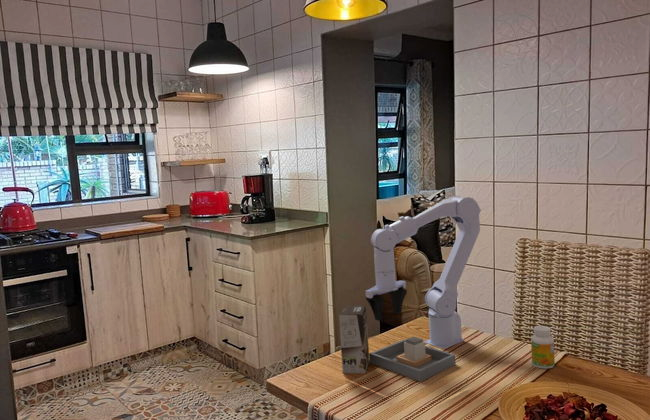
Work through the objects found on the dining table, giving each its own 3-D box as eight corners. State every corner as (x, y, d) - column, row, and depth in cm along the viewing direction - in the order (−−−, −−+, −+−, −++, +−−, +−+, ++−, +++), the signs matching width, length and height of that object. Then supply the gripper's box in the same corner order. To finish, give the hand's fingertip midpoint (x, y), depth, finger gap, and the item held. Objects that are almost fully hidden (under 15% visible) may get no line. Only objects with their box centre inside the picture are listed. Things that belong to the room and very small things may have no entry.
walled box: (404, 349, 148) (404, 339, 148) (455, 365, 134) (455, 354, 134) (369, 363, 139) (369, 353, 139) (420, 383, 125) (419, 371, 125)
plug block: (414, 356, 141) (413, 335, 140) (425, 360, 138) (424, 339, 137) (404, 361, 138) (403, 339, 138) (416, 364, 135) (414, 343, 135)
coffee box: (366, 374, 132) (362, 314, 131) (342, 374, 134) (337, 314, 132) (370, 360, 141) (366, 304, 140) (347, 360, 143) (343, 304, 141)
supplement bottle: (528, 366, 131) (527, 329, 130) (536, 359, 134) (535, 323, 134) (550, 370, 127) (549, 333, 126) (557, 363, 131) (556, 326, 130)
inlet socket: (412, 353, 143) (412, 349, 143) (431, 359, 138) (431, 355, 138) (396, 360, 139) (396, 356, 139) (415, 367, 134) (414, 362, 134)
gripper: (376, 277, 139) (379, 325, 140) (412, 267, 148) (415, 313, 149) (359, 274, 144) (362, 320, 145) (394, 265, 153) (397, 309, 154)
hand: (387, 316), depth 148 cm, fingers open, 7 cm apart
